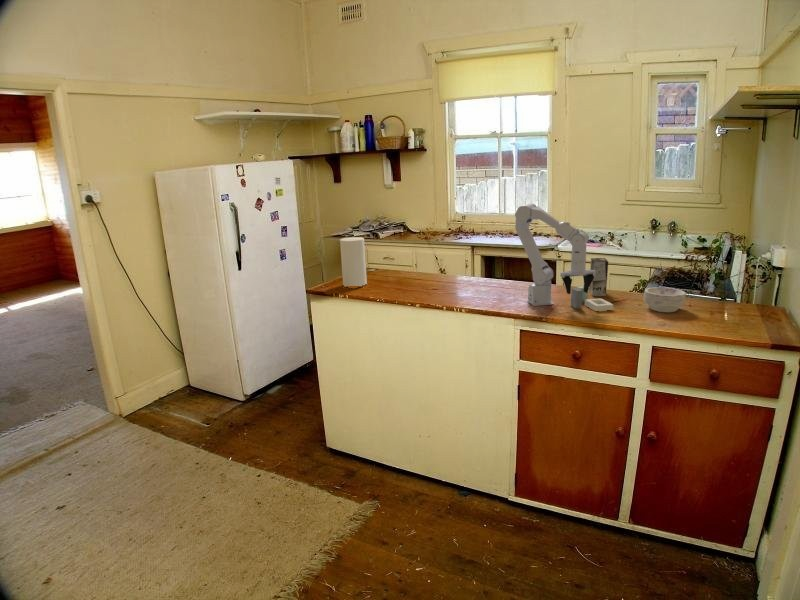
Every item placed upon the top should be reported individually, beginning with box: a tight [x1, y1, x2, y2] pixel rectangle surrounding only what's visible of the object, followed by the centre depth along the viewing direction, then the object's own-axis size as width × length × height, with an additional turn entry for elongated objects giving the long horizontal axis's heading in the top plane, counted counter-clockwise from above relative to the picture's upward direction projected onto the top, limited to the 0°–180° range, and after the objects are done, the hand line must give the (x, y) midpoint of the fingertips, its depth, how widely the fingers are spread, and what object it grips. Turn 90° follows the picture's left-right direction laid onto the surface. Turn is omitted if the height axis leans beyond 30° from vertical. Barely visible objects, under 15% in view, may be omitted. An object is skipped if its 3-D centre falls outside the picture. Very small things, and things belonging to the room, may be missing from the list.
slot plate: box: [584, 297, 614, 312], centre depth 222 cm, size 8×10×2 cm
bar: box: [570, 287, 583, 310], centre depth 223 cm, size 2×5×8 cm, turn 8°
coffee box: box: [588, 257, 609, 297], centre depth 241 cm, size 9×6×16 cm
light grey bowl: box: [643, 286, 687, 313], centre depth 215 cm, size 15×15×8 cm
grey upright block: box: [576, 285, 589, 303], centre depth 232 cm, size 4×4×6 cm
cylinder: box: [339, 236, 368, 286], centre depth 274 cm, size 12×12×25 cm
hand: (577, 292), depth 222 cm, fingers open, 7 cm apart
